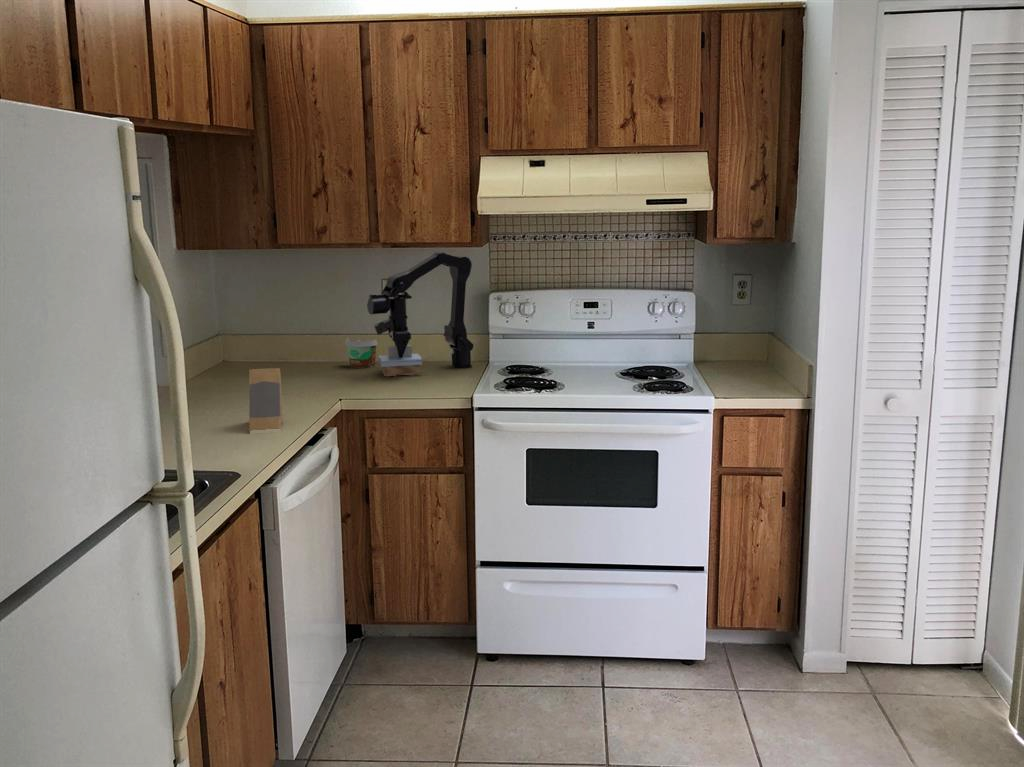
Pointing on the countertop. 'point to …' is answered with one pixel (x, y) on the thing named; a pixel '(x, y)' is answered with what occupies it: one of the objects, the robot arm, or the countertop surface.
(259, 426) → the sandwich container
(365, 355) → the food container
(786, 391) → the countertop surface
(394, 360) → the lid
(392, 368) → the box
